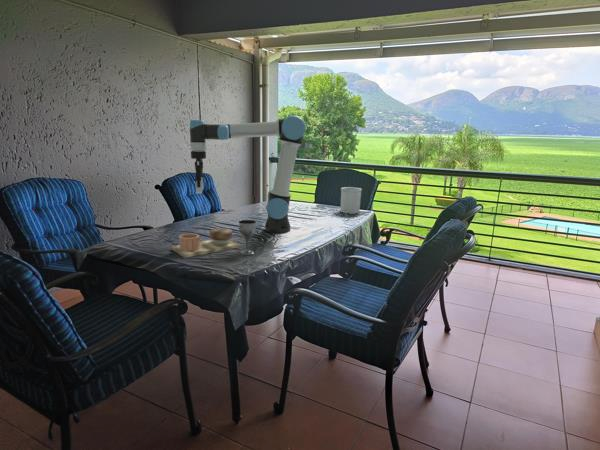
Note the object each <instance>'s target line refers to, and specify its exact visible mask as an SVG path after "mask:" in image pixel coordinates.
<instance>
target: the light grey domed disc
mask: <svg viewBox="0 0 600 450" xmlns="http://www.w3.org/2000/svg"><path fill="white" fill-rule="evenodd" d="M229 240H230V239H227V240H214V239H213V244H215V245H226V244H229Z"/></svg>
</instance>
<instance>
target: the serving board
mask: <svg viewBox="0 0 600 450" xmlns="http://www.w3.org/2000/svg"><path fill="white" fill-rule="evenodd" d="M239 248H240V244H239V243H237V242H235V241H233V240H231V239H229V244H226V245H215V244H213V239H207V240H201V241H200V248H199V249H198V250H195V251H182V250H180V244H178V245H172V246H171V250H172V251H173V252H175V253H177V254H178V255H180V257H183V258H184V259H185V258H187V259H188V258H191V257H196V256H202V255H207V254H212V253H216V252H222V251H228V250H234V249H239Z"/></svg>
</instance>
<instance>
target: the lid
mask: <svg viewBox="0 0 600 450" xmlns="http://www.w3.org/2000/svg"><path fill="white" fill-rule="evenodd" d="M232 238H233V230H232V229H230V228H224V227H221V228H220V227H218V228H212V229H210V230H209V239H210V240H212V239H214V240H227V239H229V240H231V239H232Z"/></svg>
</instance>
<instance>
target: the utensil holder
mask: <svg viewBox="0 0 600 450" xmlns="http://www.w3.org/2000/svg"><path fill="white" fill-rule="evenodd" d="M362 190H363V189H362V188H361V187H353V186H347V187H345V186H344V187H341V188H340V213H342V212H343V213H342V214H347V213H349V215H357V214H359V213H360V208H361V197H362ZM356 213H357V214H356Z"/></svg>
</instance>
